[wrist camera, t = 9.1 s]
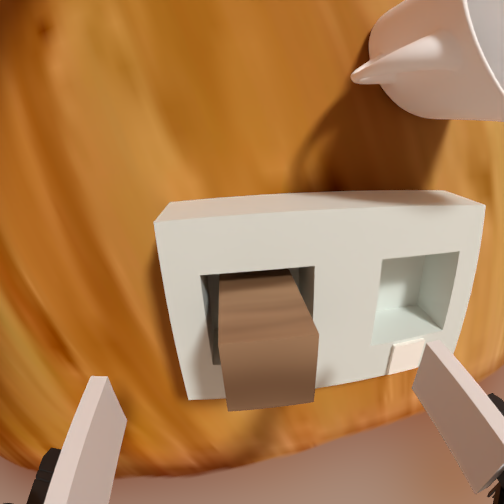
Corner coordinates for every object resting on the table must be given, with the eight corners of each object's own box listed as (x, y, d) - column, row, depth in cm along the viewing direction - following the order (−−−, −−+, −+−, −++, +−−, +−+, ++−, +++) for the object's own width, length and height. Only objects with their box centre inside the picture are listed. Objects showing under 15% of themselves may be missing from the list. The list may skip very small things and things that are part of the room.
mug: (299, 30, 17) (363, -49, 7) (433, 7, 16) (527, -29, 6) (349, 147, 20) (452, 164, 10) (471, 106, 19) (576, 111, 9)
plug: (219, 260, 21) (218, 344, 12) (282, 255, 21) (319, 334, 12) (225, 314, 22) (228, 411, 14) (283, 309, 22) (313, 401, 14)
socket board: (169, 202, 20) (152, 223, 15) (443, 190, 21) (488, 206, 16) (193, 355, 24) (188, 403, 19) (423, 325, 25) (454, 359, 20)
